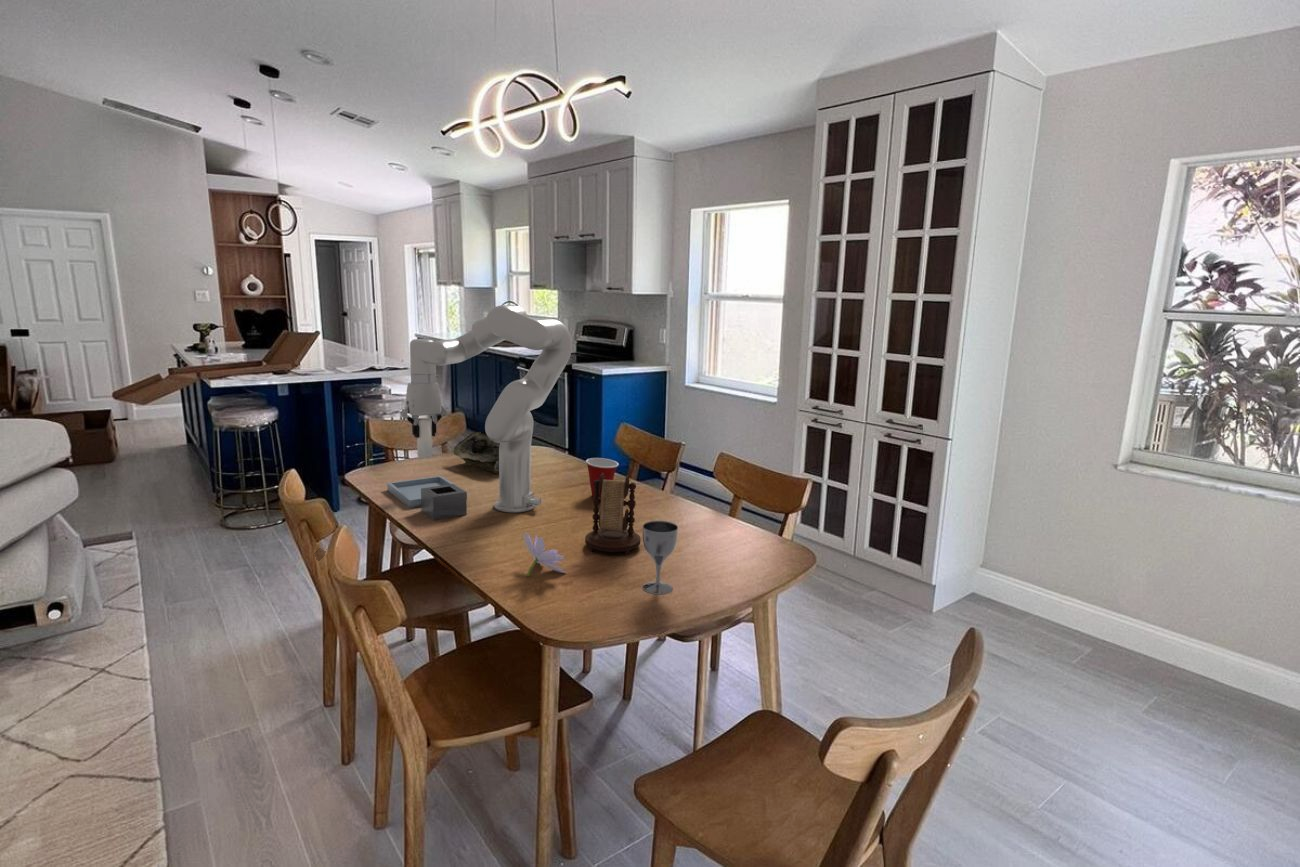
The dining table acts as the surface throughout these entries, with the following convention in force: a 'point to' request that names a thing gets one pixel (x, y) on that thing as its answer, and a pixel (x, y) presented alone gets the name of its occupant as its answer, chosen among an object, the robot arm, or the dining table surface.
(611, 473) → the plastic cup
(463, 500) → the socket block
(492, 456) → the hollow geode rock
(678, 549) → the dining table surface
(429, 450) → the dowel pin
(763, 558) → the dining table surface
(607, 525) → the scroll
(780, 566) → the dining table surface
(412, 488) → the tray
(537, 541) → the water lily
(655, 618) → the dining table surface
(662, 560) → the wine glass
